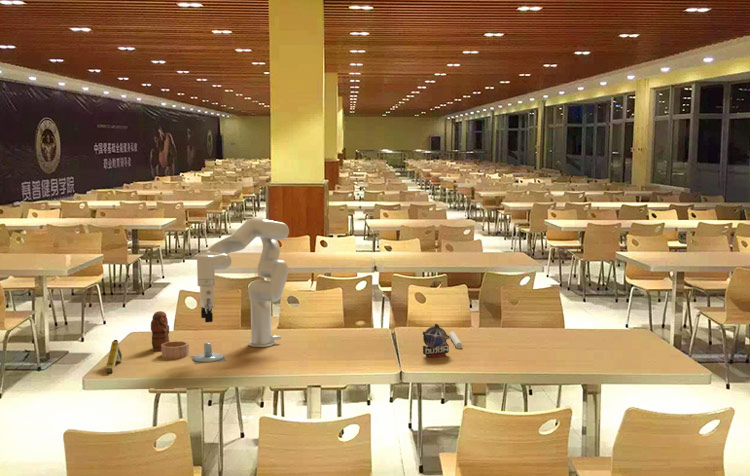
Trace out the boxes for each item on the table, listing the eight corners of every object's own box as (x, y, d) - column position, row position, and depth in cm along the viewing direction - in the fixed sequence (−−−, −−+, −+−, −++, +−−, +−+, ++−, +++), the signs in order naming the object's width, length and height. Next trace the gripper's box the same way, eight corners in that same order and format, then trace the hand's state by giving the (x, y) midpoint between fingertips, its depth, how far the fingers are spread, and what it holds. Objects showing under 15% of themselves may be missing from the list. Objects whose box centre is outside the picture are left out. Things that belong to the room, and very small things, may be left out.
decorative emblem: (446, 354, 381) (446, 322, 379) (448, 355, 379) (448, 323, 377) (422, 356, 377) (422, 324, 376) (424, 358, 375) (424, 325, 373)
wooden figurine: (163, 351, 389) (162, 314, 387) (150, 351, 390) (149, 313, 388) (172, 345, 401) (170, 309, 399) (159, 345, 401) (157, 308, 399)
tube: (448, 336, 417) (455, 349, 393) (448, 330, 417) (456, 342, 392) (454, 336, 418) (462, 348, 393) (454, 330, 417) (462, 342, 392)
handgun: (122, 355, 373) (118, 336, 366) (115, 387, 358) (111, 368, 351) (116, 356, 373) (112, 336, 365) (109, 387, 358) (105, 368, 350)
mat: (220, 354, 384) (220, 353, 384) (226, 361, 371) (226, 360, 371) (190, 357, 379) (190, 356, 379) (195, 364, 366) (195, 363, 366)
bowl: (186, 351, 389) (185, 340, 388) (190, 357, 378) (190, 345, 377) (160, 354, 384) (159, 342, 384) (163, 360, 373) (163, 348, 373)
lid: (219, 353, 383) (219, 338, 382) (225, 360, 371) (225, 345, 370) (191, 356, 378) (190, 341, 378) (196, 363, 366) (195, 347, 365)
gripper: (218, 284, 364) (219, 323, 366) (210, 279, 380) (211, 315, 382) (201, 285, 361) (201, 324, 363) (194, 279, 377) (195, 316, 379)
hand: (206, 319), depth 373 cm, fingers open, 9 cm apart
